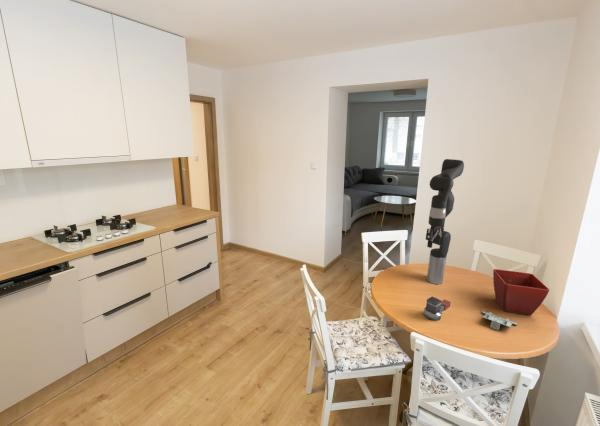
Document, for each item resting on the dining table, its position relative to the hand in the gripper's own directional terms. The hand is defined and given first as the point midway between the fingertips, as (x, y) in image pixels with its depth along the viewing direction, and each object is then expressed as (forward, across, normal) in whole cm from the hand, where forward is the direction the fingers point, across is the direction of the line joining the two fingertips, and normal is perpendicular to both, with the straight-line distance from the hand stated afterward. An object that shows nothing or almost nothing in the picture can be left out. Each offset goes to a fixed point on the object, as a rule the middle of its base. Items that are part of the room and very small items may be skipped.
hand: (433, 245), depth 156 cm
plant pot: (+33, -30, +33) cm, 56 cm away
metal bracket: (+33, -7, +32) cm, 47 cm away
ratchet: (+32, +7, +10) cm, 34 cm away
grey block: (+29, +12, +9) cm, 33 cm away
